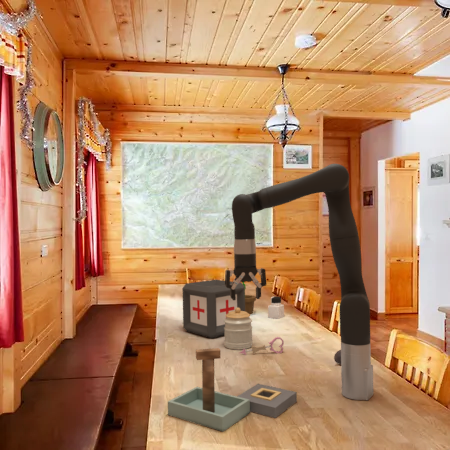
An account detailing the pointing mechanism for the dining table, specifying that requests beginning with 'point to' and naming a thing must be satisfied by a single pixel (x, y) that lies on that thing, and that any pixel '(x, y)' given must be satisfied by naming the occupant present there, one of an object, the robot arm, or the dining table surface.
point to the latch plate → (269, 399)
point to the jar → (238, 330)
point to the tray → (219, 420)
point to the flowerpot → (249, 302)
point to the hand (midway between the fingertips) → (245, 299)
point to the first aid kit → (209, 306)
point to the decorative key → (256, 349)
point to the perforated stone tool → (338, 357)
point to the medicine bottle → (276, 308)
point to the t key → (208, 376)
